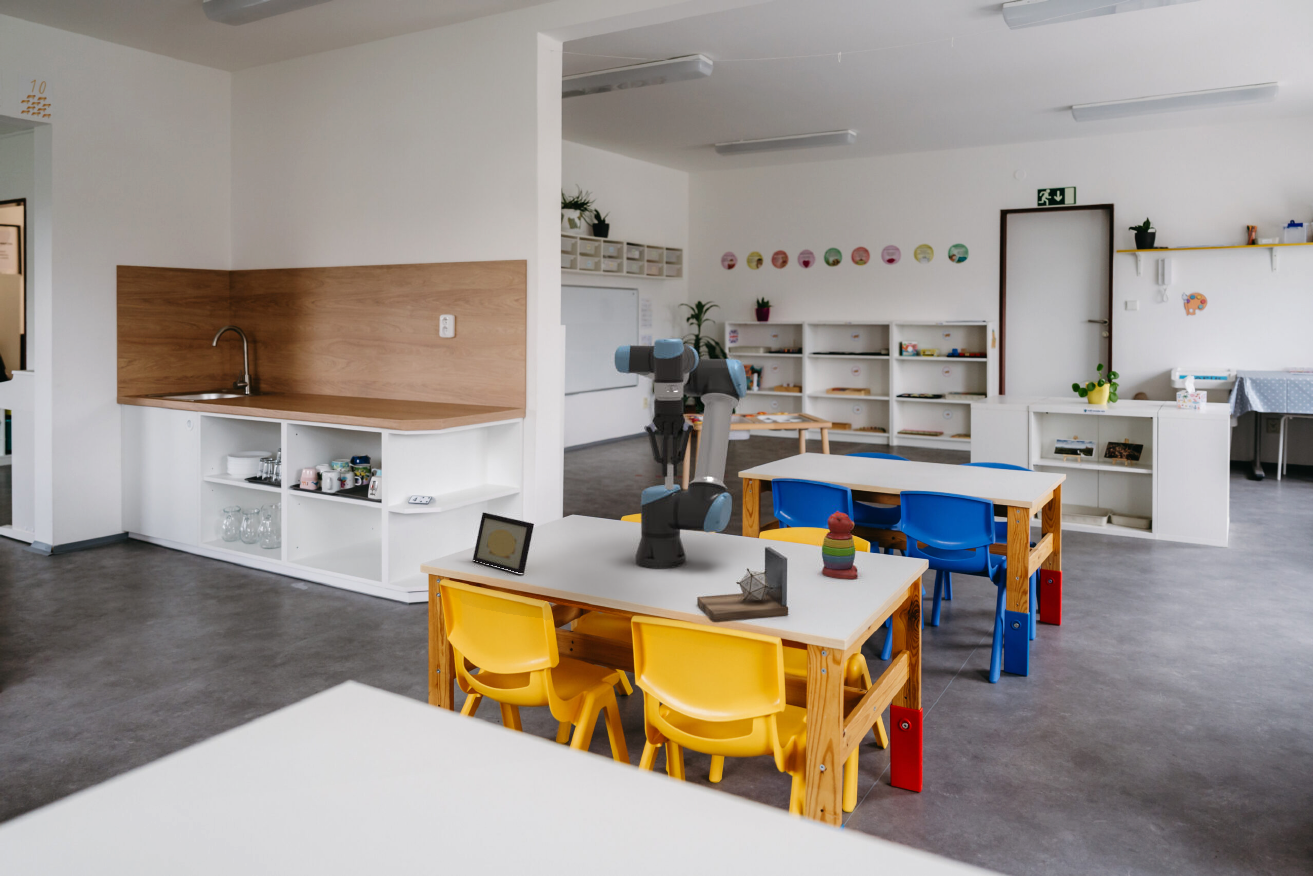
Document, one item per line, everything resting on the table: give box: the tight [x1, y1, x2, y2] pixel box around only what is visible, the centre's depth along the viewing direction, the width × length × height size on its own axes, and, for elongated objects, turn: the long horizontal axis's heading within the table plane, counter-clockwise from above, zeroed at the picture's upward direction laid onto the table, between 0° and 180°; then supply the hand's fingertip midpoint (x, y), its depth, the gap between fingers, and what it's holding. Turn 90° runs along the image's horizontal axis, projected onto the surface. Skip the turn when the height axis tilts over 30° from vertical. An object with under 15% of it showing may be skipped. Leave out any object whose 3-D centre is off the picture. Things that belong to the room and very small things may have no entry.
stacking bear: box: [821, 510, 859, 580], centre depth 256 cm, size 11×10×18 cm
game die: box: [735, 567, 774, 604], centre depth 225 cm, size 9×8×10 cm
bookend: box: [764, 546, 788, 607], centre depth 226 cm, size 12×1×12 cm, turn 14°
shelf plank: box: [696, 592, 789, 623], centre depth 225 cm, size 14×19×2 cm
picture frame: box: [472, 512, 535, 574], centre depth 268 cm, size 23×9×15 cm, turn 47°
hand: (669, 488), depth 236 cm, fingers closed
